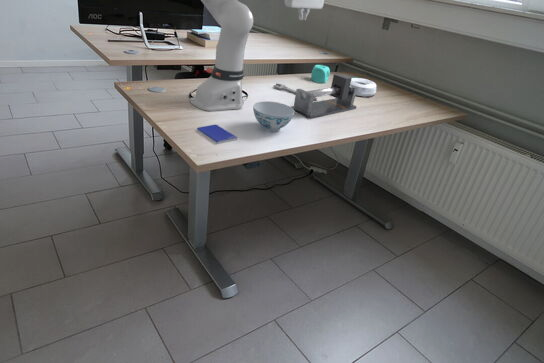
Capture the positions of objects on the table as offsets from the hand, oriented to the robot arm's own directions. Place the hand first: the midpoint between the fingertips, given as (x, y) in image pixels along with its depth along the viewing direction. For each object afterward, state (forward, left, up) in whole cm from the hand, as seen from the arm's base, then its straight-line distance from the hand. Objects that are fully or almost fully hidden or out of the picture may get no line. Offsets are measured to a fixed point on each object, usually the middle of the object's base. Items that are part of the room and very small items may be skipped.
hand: (302, 19), depth 157 cm
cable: (+47, -5, -35) cm, 59 cm away
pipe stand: (+6, -16, -34) cm, 38 cm away
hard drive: (-54, -18, -35) cm, 67 cm away
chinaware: (-32, -22, -34) cm, 52 cm away
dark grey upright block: (+15, -16, -30) cm, 37 cm away
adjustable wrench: (+9, +6, -35) cm, 36 cm away
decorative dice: (+41, +17, -34) cm, 56 cm away
